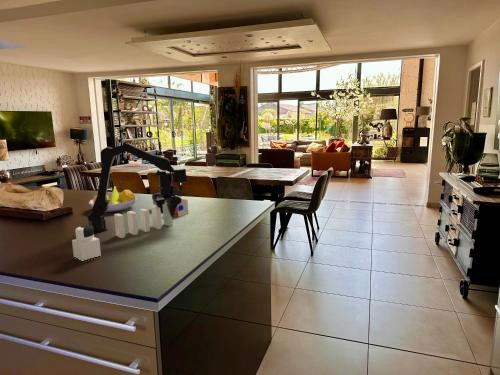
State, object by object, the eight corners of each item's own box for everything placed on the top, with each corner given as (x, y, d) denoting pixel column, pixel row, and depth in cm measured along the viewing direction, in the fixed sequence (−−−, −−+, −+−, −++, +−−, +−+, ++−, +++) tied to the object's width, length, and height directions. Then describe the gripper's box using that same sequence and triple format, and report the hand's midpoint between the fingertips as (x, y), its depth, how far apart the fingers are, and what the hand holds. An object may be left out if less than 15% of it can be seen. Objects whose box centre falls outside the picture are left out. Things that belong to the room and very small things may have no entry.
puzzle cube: (177, 211, 194) (176, 198, 193) (188, 213, 190) (187, 199, 189) (167, 215, 188) (166, 201, 186) (178, 216, 184) (177, 202, 182)
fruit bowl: (128, 214, 190) (127, 194, 188) (80, 215, 191) (78, 195, 189) (145, 203, 218) (143, 185, 216) (103, 203, 218) (101, 186, 216)
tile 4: (157, 229, 162) (156, 208, 161) (152, 227, 166) (151, 207, 164) (161, 228, 164) (160, 207, 162) (156, 226, 167) (155, 206, 165)
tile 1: (120, 238, 150) (118, 216, 148) (116, 235, 154) (114, 214, 152) (125, 237, 152) (123, 215, 150) (120, 234, 155) (118, 213, 153)
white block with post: (92, 252, 134) (89, 223, 132) (101, 256, 129) (98, 226, 127) (73, 258, 129) (70, 227, 126) (82, 262, 124) (78, 231, 122)
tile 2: (133, 235, 154) (131, 213, 152) (129, 232, 158) (127, 211, 156) (137, 234, 156) (136, 212, 154) (133, 231, 159) (131, 210, 157)
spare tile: (169, 226, 166) (167, 206, 165) (163, 224, 170) (162, 204, 168) (172, 225, 168) (171, 205, 166) (167, 223, 171) (166, 204, 170)
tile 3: (146, 232, 158) (144, 211, 156) (141, 229, 162) (139, 209, 160) (150, 231, 160) (148, 210, 158) (145, 228, 163) (143, 208, 161)
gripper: (190, 183, 164) (191, 215, 167) (170, 179, 177) (171, 209, 180) (169, 187, 156) (171, 220, 159) (150, 182, 170) (152, 213, 173)
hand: (167, 215), depth 168 cm, fingers open, 9 cm apart
